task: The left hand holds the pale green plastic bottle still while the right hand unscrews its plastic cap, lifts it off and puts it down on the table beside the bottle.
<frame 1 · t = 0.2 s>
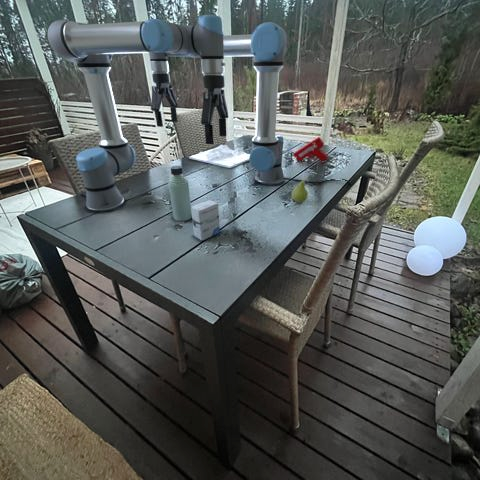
left hand: (216, 139, 103), 28 cm above the table, tool pointing down, fingers open, 13 cm apart
right hand: (167, 124, 132), 28 cm above the table, tool pointing down, fingers open, 13 cm apart
toy gun: (309, 161, 172), on the table
fruit: (299, 202, 122), on the table
relief map: (222, 158, 180), on the table
bottle: (182, 216, 111), on the table
ink box: (207, 234, 99), on the table
cap: (176, 168, 100), point 20 cm above the table, screwed on, not yet turned
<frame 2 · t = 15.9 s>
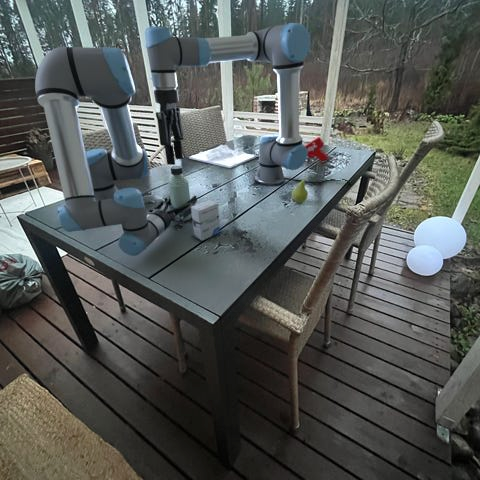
left hand: (186, 197, 111), 6 cm above the table, tool horizontal, fingers closed on bottle, 8 cm apart
right hand: (175, 161, 98), 23 cm above the table, tool pointing down, fingers open, 6 cm apart
bottle: (182, 216, 111), on the table, touching left hand
everything else where it was.
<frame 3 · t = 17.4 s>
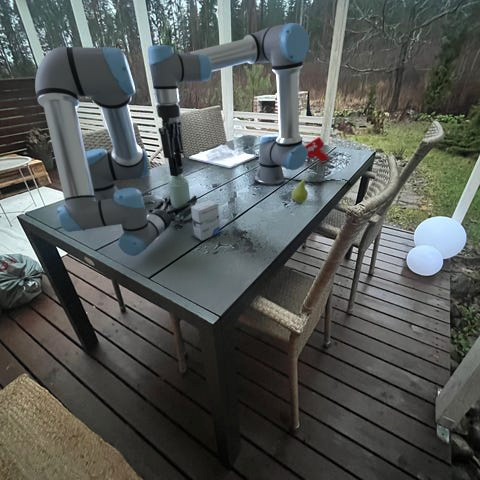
left hand: (186, 197, 111), 6 cm above the table, tool horizontal, fingers closed on bottle, 8 cm apart
right hand: (177, 173, 101), 18 cm above the table, tool pointing down, fingers closed on cap, 4 cm apart
bottle: (182, 216, 111), on the table, touching left hand
cap: (176, 168, 100), point 20 cm above the table, screwed on, not yet turned, touching right hand
everything else where it was.
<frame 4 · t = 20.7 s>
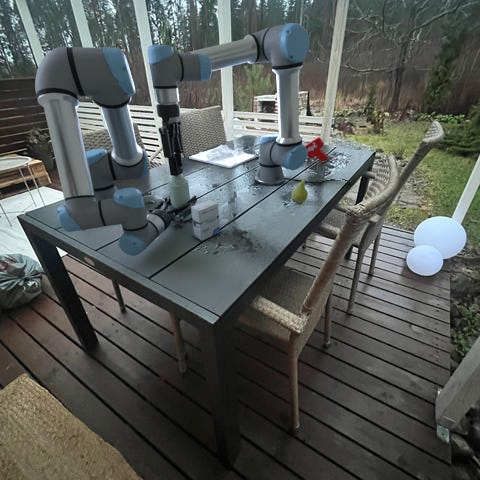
left hand: (186, 197, 111), 6 cm above the table, tool horizontal, fingers closed on bottle, 8 cm apart
right hand: (176, 173, 101), 18 cm above the table, tool pointing down, fingers closed on cap, 4 cm apart
bottle: (182, 216, 111), on the table, touching left hand
cap: (176, 167, 100), point 20 cm above the table, turned 105° so far, risen 0.1 cm, still on its thread, touching right hand
everything else where it was.
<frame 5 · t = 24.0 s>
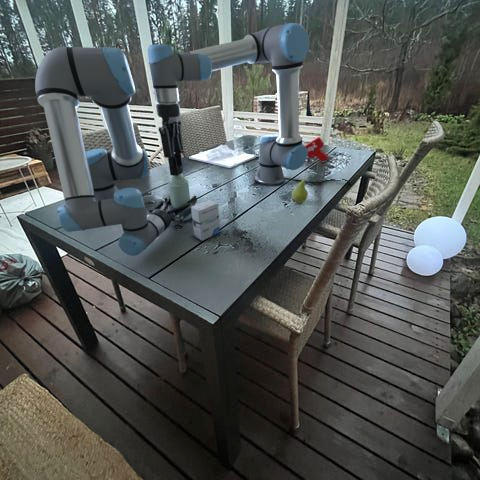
left hand: (186, 197, 111), 6 cm above the table, tool horizontal, fingers closed on bottle, 8 cm apart
right hand: (176, 172, 101), 18 cm above the table, tool pointing down, fingers closed on cap, 4 cm apart
bottle: (182, 216, 111), on the table, touching left hand
cap: (176, 167, 100), point 20 cm above the table, turned 210° so far, risen 0.2 cm, still on its thread, touching right hand
everything else where it was.
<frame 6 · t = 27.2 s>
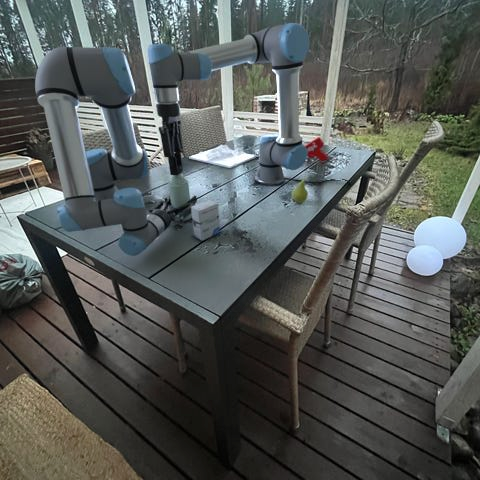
left hand: (186, 197, 111), 6 cm above the table, tool horizontal, fingers closed on bottle, 8 cm apart
right hand: (176, 172, 101), 18 cm above the table, tool pointing down, fingers closed on cap, 4 cm apart
bottle: (182, 216, 111), on the table, touching left hand
cap: (176, 167, 100), point 20 cm above the table, turned 315° so far, risen 0.3 cm, still on its thread, touching right hand
everything else where it was.
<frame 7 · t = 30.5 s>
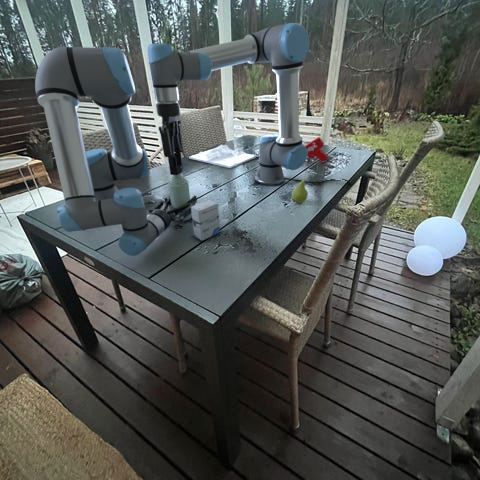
left hand: (186, 197, 111), 6 cm above the table, tool horizontal, fingers closed on bottle, 8 cm apart
right hand: (176, 172, 101), 18 cm above the table, tool pointing down, fingers closed on cap, 4 cm apart
bottle: (182, 216, 111), on the table, touching left hand
cap: (176, 167, 100), point 21 cm above the table, turned 420° so far, risen 0.4 cm, still on its thread, touching right hand
everything else where it was.
when the right hand's fingers open (1 cm above the table, at t = 36.7 s): cap drops 1 cm, point 2 cm above the table.
when the left hand's fingers open (6 cm above the table, at t = 38.0 s): bottle stays where it is, on the table.
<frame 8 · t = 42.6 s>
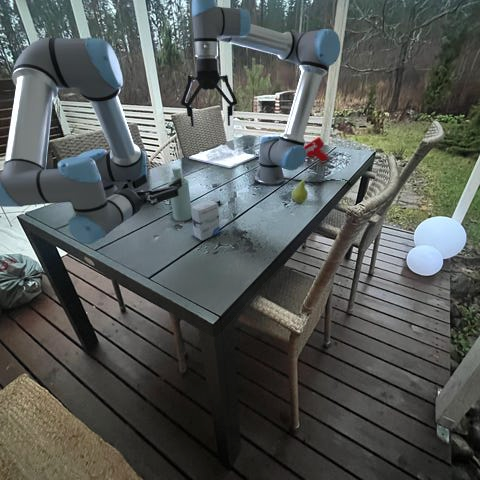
left hand: (162, 180, 92), 19 cm above the table, tool horizontal, fingers open, 13 cm apart
right hand: (210, 125, 102), 33 cm above the table, tool pointing down, fingers open, 13 cm apart
bottle: (182, 216, 111), on the table
cap: (215, 200, 119), point 2 cm above the table, off its thread
everything else where it was.
at the end: cap came off its thread; cap point 2.0 cm above the table; the left hand is holding nothing; the right hand is holding nothing; bottle tilted 0°; bottle moved 0.0 cm from its start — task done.
